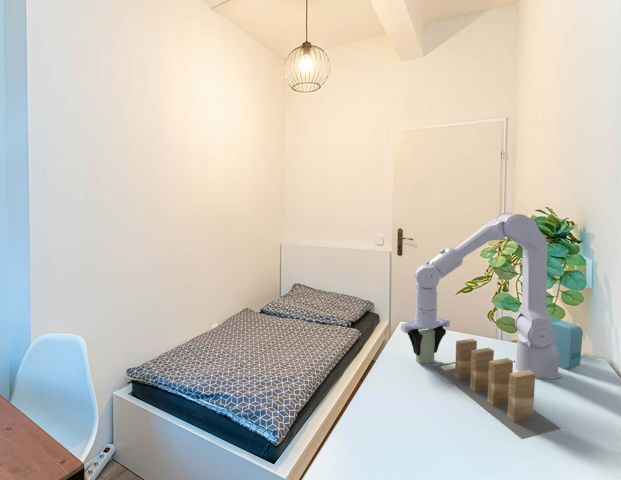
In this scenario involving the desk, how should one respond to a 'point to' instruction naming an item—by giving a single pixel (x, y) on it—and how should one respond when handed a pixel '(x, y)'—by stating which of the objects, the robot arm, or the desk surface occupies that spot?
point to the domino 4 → (521, 395)
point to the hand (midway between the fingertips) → (425, 352)
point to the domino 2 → (480, 368)
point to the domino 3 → (499, 381)
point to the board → (499, 407)
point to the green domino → (426, 346)
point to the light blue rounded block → (567, 342)
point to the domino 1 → (464, 358)
